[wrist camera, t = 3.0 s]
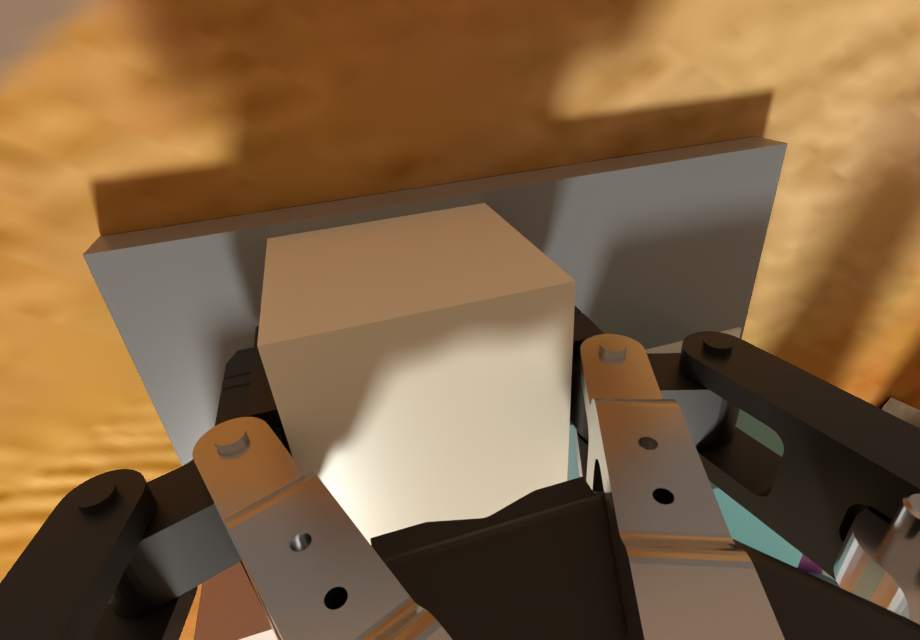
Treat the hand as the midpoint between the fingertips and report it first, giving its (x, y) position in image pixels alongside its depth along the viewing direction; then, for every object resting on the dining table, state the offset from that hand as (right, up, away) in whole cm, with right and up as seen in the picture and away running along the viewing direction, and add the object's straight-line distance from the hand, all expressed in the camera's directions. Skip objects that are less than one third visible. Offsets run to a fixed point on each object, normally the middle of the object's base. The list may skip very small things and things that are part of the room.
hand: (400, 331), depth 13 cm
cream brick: (0, 0, +1) cm, 1 cm away
